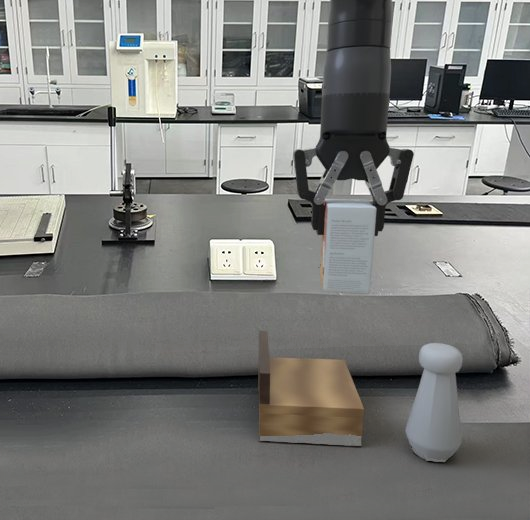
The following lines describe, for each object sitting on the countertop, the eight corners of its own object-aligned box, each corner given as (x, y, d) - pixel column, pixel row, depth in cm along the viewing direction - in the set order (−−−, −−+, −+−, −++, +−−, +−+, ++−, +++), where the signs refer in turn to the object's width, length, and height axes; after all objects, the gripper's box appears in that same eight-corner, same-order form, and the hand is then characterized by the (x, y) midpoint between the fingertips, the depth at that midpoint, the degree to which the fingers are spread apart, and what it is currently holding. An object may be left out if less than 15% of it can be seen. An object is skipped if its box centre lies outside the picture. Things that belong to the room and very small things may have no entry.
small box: (319, 276, 72) (323, 198, 69) (363, 278, 70) (368, 198, 68) (321, 292, 64) (326, 205, 62) (370, 295, 63) (377, 206, 60)
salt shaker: (466, 470, 58) (479, 359, 55) (410, 466, 59) (420, 356, 56) (450, 441, 63) (460, 338, 60) (399, 437, 64) (407, 336, 61)
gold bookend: (342, 392, 76) (345, 332, 74) (361, 447, 62) (366, 376, 60) (258, 388, 77) (258, 330, 75) (258, 442, 64) (259, 372, 62)
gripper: (294, 90, 59) (289, 239, 63) (430, 88, 57) (416, 241, 61) (290, 95, 66) (285, 228, 70) (410, 93, 65) (399, 230, 68)
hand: (346, 234), depth 66 cm, fingers closed on small box, 5 cm apart
